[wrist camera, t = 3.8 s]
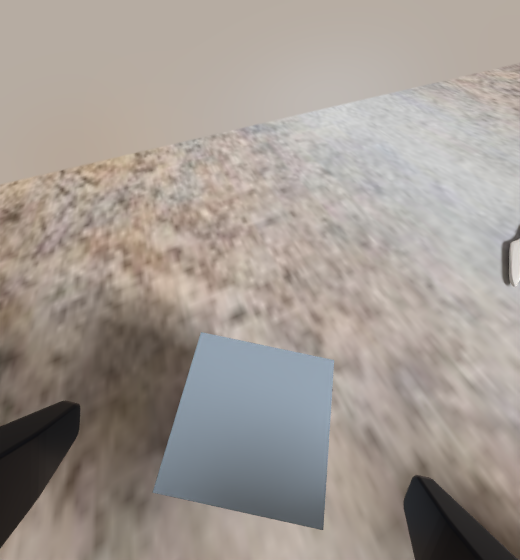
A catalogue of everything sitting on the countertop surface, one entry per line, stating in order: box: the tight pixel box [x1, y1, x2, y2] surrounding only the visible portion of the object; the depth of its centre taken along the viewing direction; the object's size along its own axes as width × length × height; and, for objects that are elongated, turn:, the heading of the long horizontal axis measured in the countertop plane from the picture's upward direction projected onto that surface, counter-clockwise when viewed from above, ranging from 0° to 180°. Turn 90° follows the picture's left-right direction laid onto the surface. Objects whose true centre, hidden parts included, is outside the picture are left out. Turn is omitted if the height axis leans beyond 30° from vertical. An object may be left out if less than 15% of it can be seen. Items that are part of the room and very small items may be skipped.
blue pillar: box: [153, 332, 334, 530], centre depth 12 cm, size 4×4×9 cm
